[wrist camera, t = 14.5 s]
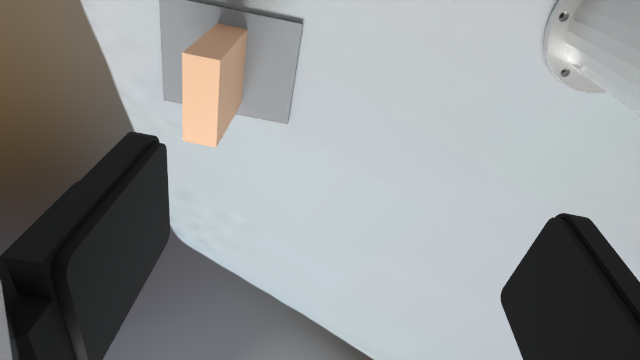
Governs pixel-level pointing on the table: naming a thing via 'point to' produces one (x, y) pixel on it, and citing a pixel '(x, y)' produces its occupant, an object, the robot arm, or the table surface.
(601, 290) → the robot arm
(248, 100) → the rubber mat
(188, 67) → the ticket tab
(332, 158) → the table surface
